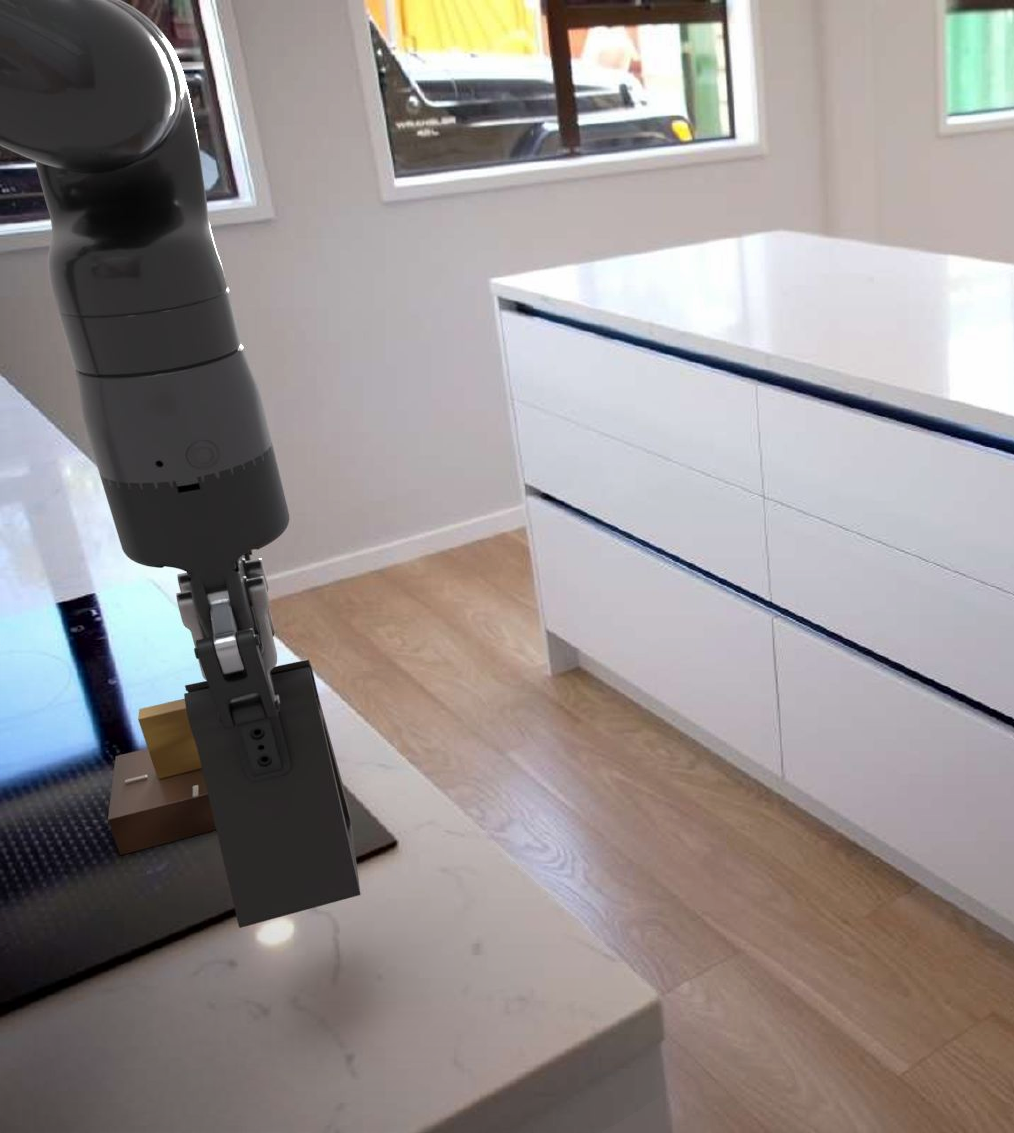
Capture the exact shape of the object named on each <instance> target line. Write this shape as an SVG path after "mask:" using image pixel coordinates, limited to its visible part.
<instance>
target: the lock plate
mask: <svg viewBox="0 0 1014 1133" xmlns="http://www.w3.org/2000/svg"><path fill="white" fill-rule="evenodd" d="M107 822H108V824H109V827H110V830H111V833H112V837H113V839H114V841H115V845H116V847H117V850H118V852H119V855H120V856H123V855H126V854H131V853H134V852H138V851H142V850H146V849H149V848H154V847H157V846H160V845H164V844H168V843H172V842H176V841H179V840H183V839H187V838H190V837H193V836H197V835H198V836H199V835H201V834H206V833H210V832H213V831H216V826H215V822H214V818H213V813H212V809H211V805H210V801H209V796H208V792H207V788H206V783H205V779H204V775H203V771H202V768H201V769H197V770H193V771H189V772H185V773H181V774H177V775H173V776H169V777H165V778H161V779H158V778H157V775H156V772H155V769H154V766H153V763H152V760H151V757H150V754H149V751H148V748H147V747H146V748H143V749H140V750H136V751H131V752H128V753H124V754H119V755H116V756H115V760H114V767H113V775H112V784H111V791H110V798H109V807H108V815H107Z"/></svg>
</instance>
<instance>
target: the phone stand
mask: <svg viewBox="0 0 1014 1133" xmlns="http://www.w3.org/2000/svg"><path fill="white" fill-rule="evenodd" d="M270 673H271V677H272V681H273V685H274V689H275V693H276V695H278V694H279V697H280V702H281V704H279V708H280V709H279V715H280V719H281V723H282V727H283V731H284V734H285V738H286V742H287V746H288V751H289V755H290V759H291V764H292V768H291V770H290V772H289V773H288V774H286V775H283V776H279V777H275V778H271V779H267V780H263V781H259V782H251V781H249V780H248V779H247V778H246V776H245V772H244V769H243V765H242V761H241V758H240V754H239V751H238V747H237V744H236V740H235V737H234V733H233V729H232V728H229V729H224V727H223V724H222V723H220V722H219V719H218V710H217V707H216V705H215V702H214V699H213V696H212V693H211V691H210V688H209V685H208V682H207V681H206V680H204V681H200V682H194V683H190V684H185V685H184V688H185V691H186V693H184V694H183V696H184V698H183V699H185V705H186V711H187V715H188V720H189V724H190V727H191V731H192V734H193V737H194V740H195V743H196V747H197V750H198V754H199V758H200V762H201V766H202V771H203V775H204V779H205V783H206V788H207V792H208V796H209V801H210V805H211V809H212V813H213V818H214V822H215V826H216V830H215V831H216V834H217V838H218V844H219V847H220V852H221V855H222V860H223V864H224V868H225V869H224V870H225V872H226V877H227V882H228V886H229V890H230V891H229V892H230V895H231V898H232V902H233V903H232V904H233V907H234V912H235V915H236V916H235V917H236V920H237V925H238V927H239V929H242V928H246V927H249V926H252V925H256V924H260V923H264V922H267V921H270V920H275V919H278V918H282V917H285V916H289V915H293V914H296V913H300V912H303V911H307V910H311V909H314V908H319V907H322V906H325V905H330V904H333V903H337V902H341V901H344V900H348V899H351V898H355V897H358V896H361V895H362V893H361V886H360V878H359V872H358V864H357V856H356V849H355V848H356V846H355V840H354V835H353V834H354V833H353V832H354V831H353V825H352V817H351V810H350V806H349V801H348V798H347V795H346V790H345V787H344V783H343V779H342V776H341V772H340V768H339V765H338V762H337V758H336V755H335V751H334V747H333V744H332V740H331V737H330V732H329V728H328V726H327V722H326V719H325V715H324V711H323V708H322V704H321V699H320V696H319V691H318V688H317V683H316V679H315V675H314V670H313V667H312V664H311V661H310V659H304V660H299V661H294V662H290V663H289V662H288V663H284V664H279V665H276V666H275V667H274V668H273V669H271V671H270Z"/></svg>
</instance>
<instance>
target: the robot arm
mask: <svg viewBox="0 0 1014 1133" xmlns="http://www.w3.org/2000/svg"><path fill="white" fill-rule="evenodd" d="M0 147H2V148H4V149H7V150H9V151H11V152H13V153H16V154H18V155H20V156H23V157H25V158H27V159H30V160H32V161H34V163H35V167H36V170H37V174H38V178H39V182H40V186H41V190H42V194H43V197H44V200H45V204H46V207H47V210H48V213H49V214H48V215H49V218H50V224H51V239H50V243H49V248H48V255H47V271H48V279H49V285H50V289H51V294H52V297H53V302H54V304H55V307H56V311H57V316H58V319H59V322H60V325H61V329H62V333H63V336H64V338H65V342H66V346H67V349H68V352H69V356H70V359H71V362H72V366H73V368H74V369H75V370H74V371H75V376H76V381H77V386H78V391H79V399H80V408H81V413H82V419H83V423H84V428H85V431H86V433H87V437H88V440H89V444H90V447H91V451H92V453H93V457H94V459H95V464H96V467H97V470H98V474H99V477H100V480H101V484H102V486H103V490H104V493H105V497H106V500H107V503H108V504H107V505H108V506H109V509H110V513H111V516H112V520H113V523H114V526H115V527H114V528H115V530H116V533H117V536H118V540H119V543H120V546H121V549H122V551H123V553H124V554H125V556H126V557H127V558H128V559H129V560H131V561H132V562H135V563H136V564H139V565H142V566H145V567H150V568H158V569H163V568H164V567H167V568H173V569H178V570H181V571H184V572H182V573H177V575H176V576H177V584H178V587H179V591H180V592H176V593H175V595H176V602H177V607H178V610H179V611H178V612H179V614H180V615H179V616H180V618H181V622H182V624H183V626H184V627H185V628H186V629H188V630H189V631H190V633H191V637H192V642H193V645H194V648H193V651H194V657H195V660H198V664H199V668H200V672H201V675H202V678H203V679H204V681H207V682H208V685H209V688H210V691H211V693H212V696H213V699H214V702H215V705H216V707H217V710H218V719H219V722H220V723H222V724H223V727H224V729H229V728H232V729H233V733H234V737H235V740H236V744H237V747H238V751H239V754H240V758H241V761H242V765H243V769H244V772H245V776H246V778H247V779H248V780H249V781H251V782H259V781H263V780H267V779H271V778H275V777H279V776H283V775H286V774H288V773H289V772H290V770H291V768H292V764H291V759H290V755H289V751H288V746H287V742H286V738H285V734H284V731H283V727H282V723H281V719H280V715H279V709H280V708H279V704H281V702H280V697H279V694H278V695H276V693H275V689H274V685H273V681H272V677H271V673H270V671H271V669H273V668H274V667H275V666H277V665H278V664H277V663H278V652H277V648H276V643H275V639H274V636H275V634H276V631H275V625H274V619H273V616H272V612H271V608H270V602H271V601H270V596H269V593H268V592H269V584H268V578H267V573H266V569H265V565H264V562H263V558H261V557H260V558H255V559H252V558H251V556H253V551H254V550H256V551H257V550H260V549H262V548H265V547H266V546H268V545H270V544H271V543H273V542H275V541H276V540H277V539H278V538H279V537H280V536H281V535H283V533H284V532H285V531H286V530H287V528H288V527H289V523H290V511H289V507H288V503H287V499H286V495H285V491H284V486H283V482H282V479H281V474H280V470H279V465H278V463H277V458H276V453H275V450H274V446H273V441H272V438H271V432H270V428H269V424H268V420H267V416H266V412H265V409H264V404H263V400H262V397H261V393H260V389H259V386H258V384H257V381H256V378H255V375H254V373H253V371H252V369H251V366H250V364H249V361H248V358H247V355H246V353H245V352H246V351H245V349H244V346H243V345H242V343H243V342H242V339H241V335H240V331H239V327H238V322H237V319H236V315H235V311H234V306H233V302H232V298H231V293H230V289H229V284H228V281H227V277H226V274H225V271H224V268H223V265H222V261H221V259H220V256H219V253H218V249H217V247H216V244H215V240H214V236H213V233H212V232H213V231H212V229H211V224H210V218H209V212H208V201H207V193H206V185H205V179H204V172H203V166H202V165H203V164H202V158H201V151H200V145H199V139H198V132H197V129H196V122H195V117H194V112H193V107H192V103H191V98H190V93H189V89H188V85H187V82H186V78H185V73H184V71H183V68H182V65H181V63H180V60H179V58H178V56H177V53H176V51H175V50H174V47H173V46H172V44H171V42H170V41H169V40H168V38H167V36H166V35H165V34H164V33H163V31H161V29H160V28H159V27H158V26H157V25H156V24H155V23H154V22H153V21H152V20H151V19H150V18H149V17H148V16H146V15H145V14H144V13H143V12H141V11H140V10H138V9H137V8H136V7H134V6H132V5H131V4H129V3H127V2H126V1H123V0H0Z"/></svg>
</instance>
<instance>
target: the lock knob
mask: <svg viewBox="0 0 1014 1133" xmlns="http://www.w3.org/2000/svg"><path fill="white" fill-rule="evenodd" d="M137 721H138V723H139V726H140V729H141V732H142V735H143V739H144V742H145V745H146V749H147V748H148V751H149V754H150V757H151V760H152V763H153V766H154V769H155V772H156V775H157V778H158V779H161V778H165V777H169V776H173V775H177V774H181V773H185V772H189V771H193V770H197V769H201V768H202V766H201V762H200V758H199V754H198V750H197V747H196V743H195V740H194V737H193V734H192V731H191V727H190V724H189V720H188V715H187V711H186V705H185V698H181V699H177V700H171V701H168V702H164V703H160V704H155V705H151V706H145V707H143V708H139V709H138V716H137Z"/></svg>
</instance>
